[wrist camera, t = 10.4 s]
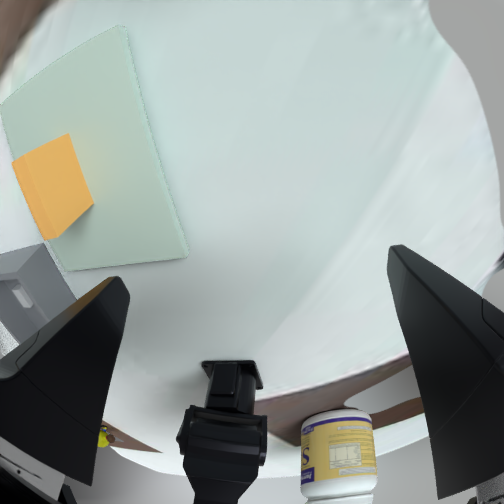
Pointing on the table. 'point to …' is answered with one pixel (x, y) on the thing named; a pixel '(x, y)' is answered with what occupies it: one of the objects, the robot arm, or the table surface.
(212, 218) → the table surface
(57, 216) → the lid
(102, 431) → the toy figure
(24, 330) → the tub
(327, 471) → the supplement tub
